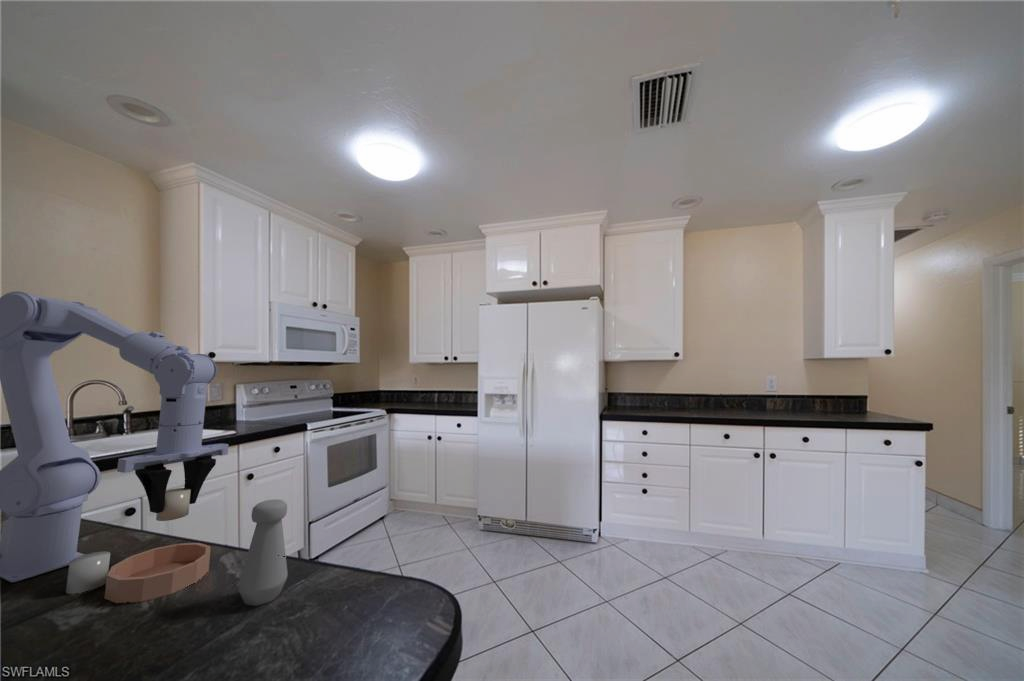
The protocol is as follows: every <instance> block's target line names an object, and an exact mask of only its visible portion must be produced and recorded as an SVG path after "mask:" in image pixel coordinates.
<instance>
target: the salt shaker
mask: <svg viewBox="0 0 1024 681" xmlns="http://www.w3.org/2000/svg"><path fill="white" fill-rule="evenodd" d="M287 512H288V504H287V503H286V501H285V500H283V499H276V498H274V499H268V500H263V501H261V502H258V503H256V505H254V507H252V509H251V521H252V523H255V524H256V525H255V529H254V531H253V535H252V538H251V541H250V543H249V544H250V545H249V548H248V552H247V555H246V558H245V562H244V564H243V569H242V570H241V574H240V578H239V581H238V589H239V590H238V592H239V593H240V597H241V598H242V600H243V603H244V605H247V606H253V607H258V606H261V605H265V604H268V603H270V602H273V601H274V600H275V599H276V598H277V597H278V596H279V595H280V594H281V591H282V589H283V587H284V585H285V584H286V581H287V579H288V565H287V557H286V556H287V555H286V546H285V545H286V544H285V538H284V528H283V519H284V518H285V516H286V515H287ZM278 555H279V556H278ZM283 556H285V557H283Z"/></svg>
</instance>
